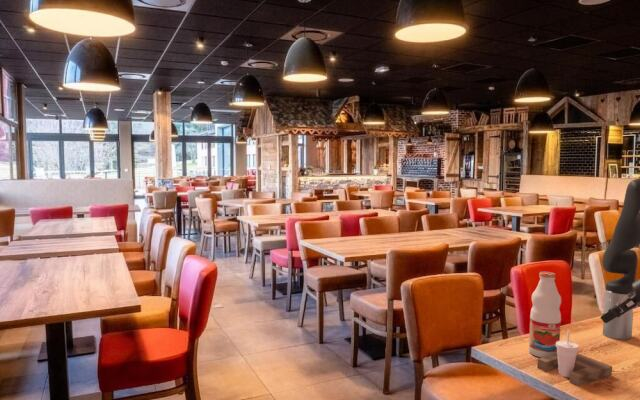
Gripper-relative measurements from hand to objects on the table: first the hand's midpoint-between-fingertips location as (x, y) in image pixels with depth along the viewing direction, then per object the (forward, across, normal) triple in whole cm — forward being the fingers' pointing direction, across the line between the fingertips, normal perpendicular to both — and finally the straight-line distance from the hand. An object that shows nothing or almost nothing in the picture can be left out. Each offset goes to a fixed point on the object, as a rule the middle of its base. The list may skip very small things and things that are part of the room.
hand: (606, 316), depth 142 cm
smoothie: (+22, 0, +8) cm, 23 cm away
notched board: (+21, -4, +8) cm, 23 cm away
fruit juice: (+29, -12, 0) cm, 32 cm away
